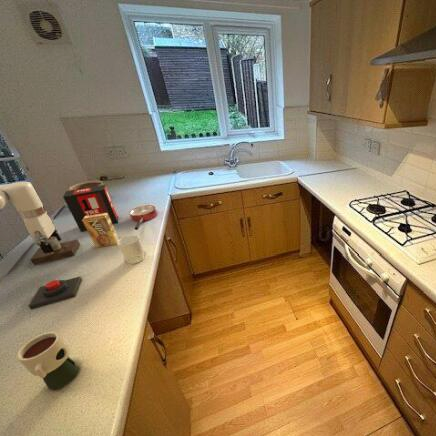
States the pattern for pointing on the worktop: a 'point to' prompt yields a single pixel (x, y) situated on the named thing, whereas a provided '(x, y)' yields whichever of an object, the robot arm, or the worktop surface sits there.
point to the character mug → (48, 360)
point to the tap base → (56, 253)
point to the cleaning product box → (89, 204)
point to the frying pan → (142, 214)
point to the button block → (56, 293)
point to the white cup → (131, 248)
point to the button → (52, 285)
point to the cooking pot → (86, 185)
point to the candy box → (100, 230)
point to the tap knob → (54, 243)
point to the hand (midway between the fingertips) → (53, 246)
